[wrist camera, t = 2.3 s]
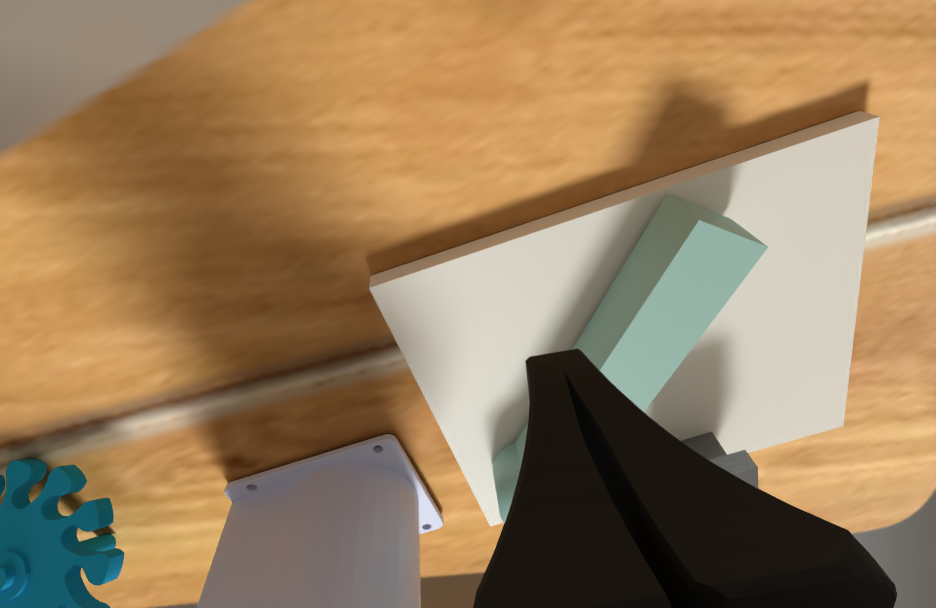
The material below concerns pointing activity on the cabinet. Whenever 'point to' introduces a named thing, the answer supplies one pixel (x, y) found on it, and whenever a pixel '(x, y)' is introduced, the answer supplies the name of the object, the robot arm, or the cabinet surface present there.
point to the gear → (52, 541)
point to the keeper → (725, 457)
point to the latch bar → (655, 309)
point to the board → (598, 264)
